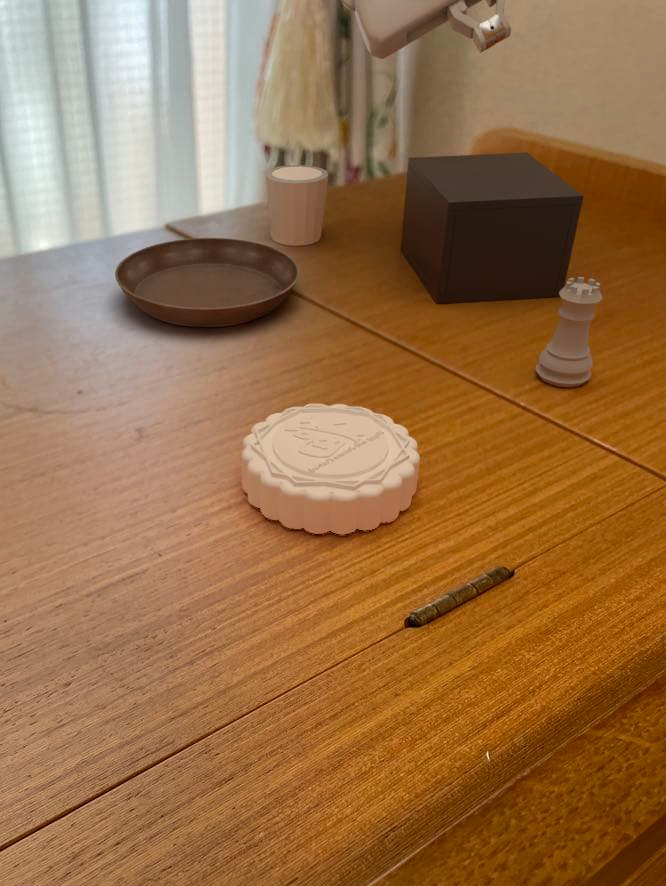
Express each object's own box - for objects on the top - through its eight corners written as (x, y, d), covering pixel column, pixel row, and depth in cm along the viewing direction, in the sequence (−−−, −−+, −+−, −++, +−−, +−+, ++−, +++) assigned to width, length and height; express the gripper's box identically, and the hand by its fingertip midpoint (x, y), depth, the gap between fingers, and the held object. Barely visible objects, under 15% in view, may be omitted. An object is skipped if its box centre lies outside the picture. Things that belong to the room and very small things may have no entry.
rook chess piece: (589, 392, 70) (613, 297, 65) (531, 384, 71) (551, 290, 66) (591, 368, 73) (614, 275, 68) (536, 360, 74) (555, 269, 69)
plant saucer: (322, 277, 89) (323, 248, 87) (260, 350, 76) (259, 318, 74) (167, 256, 94) (165, 228, 92) (84, 321, 82) (80, 290, 80)
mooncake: (326, 421, 67) (328, 379, 65) (451, 486, 60) (458, 442, 58) (206, 482, 61) (203, 438, 58) (330, 563, 54) (332, 516, 51)
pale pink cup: (293, 252, 95) (293, 186, 91) (253, 235, 99) (252, 171, 95) (338, 237, 98) (341, 173, 94) (298, 222, 103) (299, 160, 98)
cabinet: (400, 250, 95) (408, 157, 89) (511, 244, 96) (527, 152, 90) (436, 304, 84) (448, 202, 78) (562, 296, 85) (584, 195, 79)
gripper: (323, -48, 79) (391, 85, 78) (535, -180, 75) (607, -42, 74) (331, -7, 85) (393, 116, 84) (526, -128, 81) (594, 0, 81)
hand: (495, 41), depth 79 cm, fingers closed
